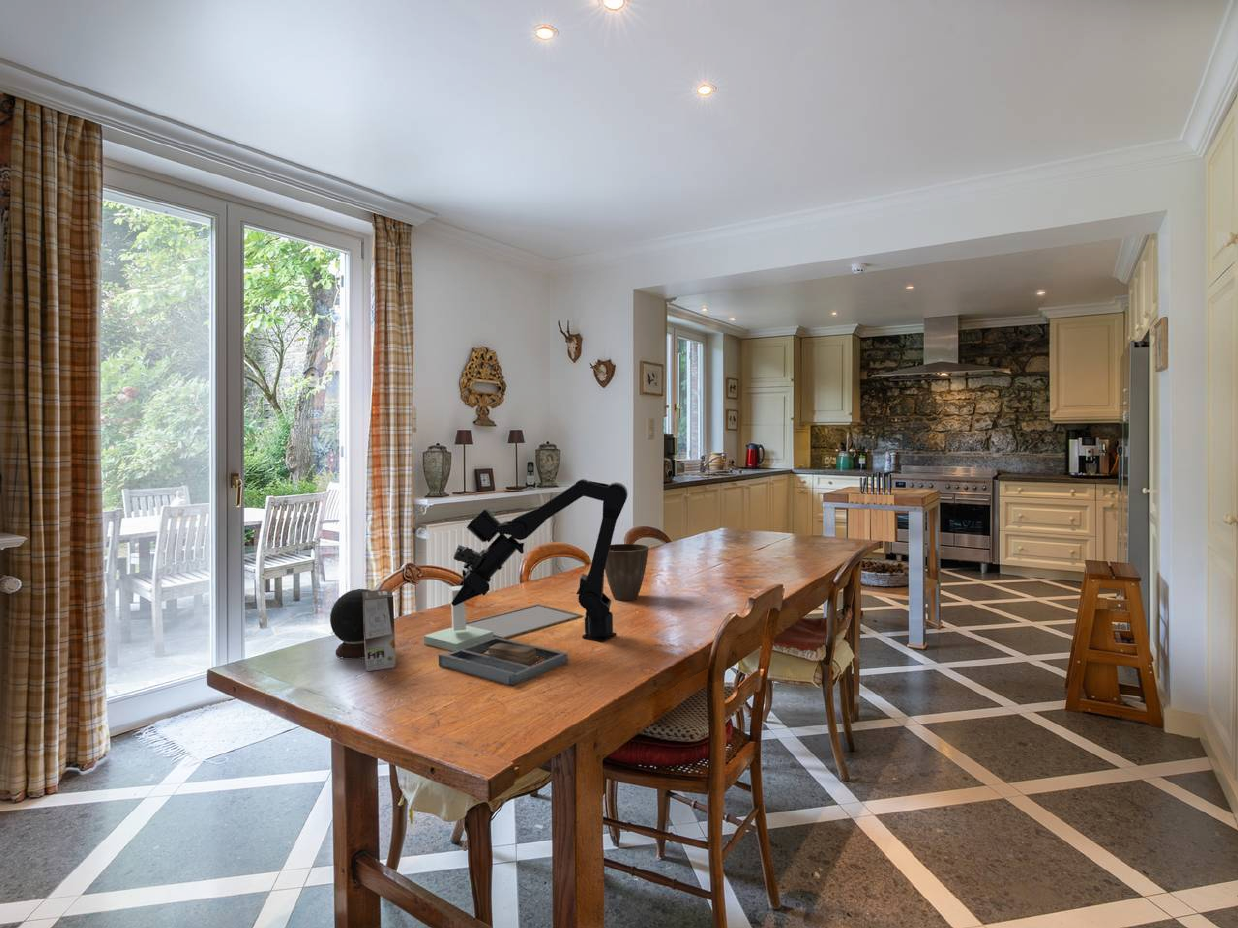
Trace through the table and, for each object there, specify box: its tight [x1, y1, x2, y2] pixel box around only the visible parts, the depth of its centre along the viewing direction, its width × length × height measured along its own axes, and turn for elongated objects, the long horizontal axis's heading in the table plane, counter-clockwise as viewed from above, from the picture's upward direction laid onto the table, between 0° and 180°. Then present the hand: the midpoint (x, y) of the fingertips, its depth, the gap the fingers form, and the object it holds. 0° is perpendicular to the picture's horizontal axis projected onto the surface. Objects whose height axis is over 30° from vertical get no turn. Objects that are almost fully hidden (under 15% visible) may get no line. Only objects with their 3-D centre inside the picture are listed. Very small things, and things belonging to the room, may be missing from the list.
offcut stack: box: [483, 643, 540, 666], centre depth 153 cm, size 12×5×4 cm, turn 68°
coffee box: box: [363, 588, 396, 672], centre depth 152 cm, size 9×6×16 cm
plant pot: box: [604, 543, 649, 602], centre depth 210 cm, size 15×15×16 cm
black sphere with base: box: [329, 588, 372, 659], centre depth 162 cm, size 13×13×15 cm
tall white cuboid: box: [450, 585, 467, 631], centre depth 168 cm, size 5×3×10 cm, turn 19°
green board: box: [423, 626, 494, 652], centre depth 168 cm, size 12×12×2 cm
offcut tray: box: [438, 637, 569, 687], centre depth 151 cm, size 23×18×2 cm
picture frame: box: [466, 603, 584, 640], centre depth 186 cm, size 19×1×28 cm
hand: (452, 602), depth 167 cm, fingers closed on tall white cuboid, 5 cm apart
